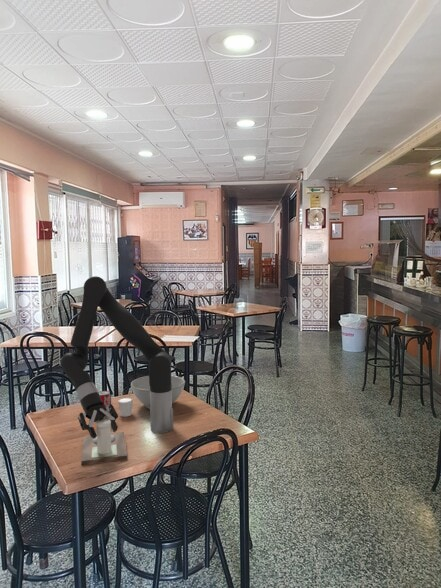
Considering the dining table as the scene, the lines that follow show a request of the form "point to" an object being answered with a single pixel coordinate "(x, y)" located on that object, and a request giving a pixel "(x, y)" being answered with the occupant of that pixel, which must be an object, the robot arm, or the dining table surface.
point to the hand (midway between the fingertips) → (105, 434)
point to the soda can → (105, 398)
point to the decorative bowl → (143, 389)
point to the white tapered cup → (125, 406)
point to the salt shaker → (103, 436)
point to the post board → (116, 453)
